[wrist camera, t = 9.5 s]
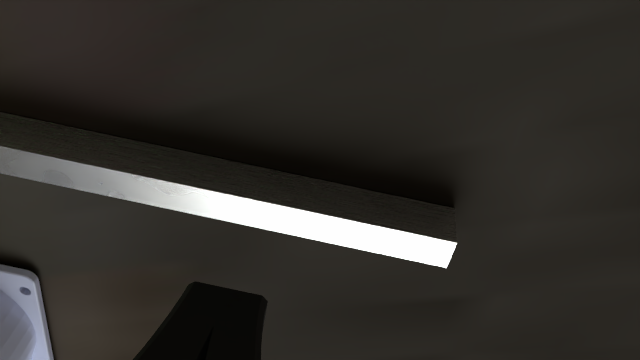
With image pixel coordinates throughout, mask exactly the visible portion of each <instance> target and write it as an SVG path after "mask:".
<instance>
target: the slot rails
mask: <svg viewBox="0 0 640 360" xmlns="http://www.w3.org/2000/svg"><path fill="white" fill-rule="evenodd" d="M0 173H2V174H7V175H11V176H16V177H21V178H26V179H30V180H35V181H40V182H44V183H49V184H54V185H59V186H63V187H68V188H73V189H77V190H82V191H87V192H92V193H96V194H101V195H106V196H110V197H115V198H120V199H125V200H129V201H134V202H139V203H143V204H148V205H153V206H158V207H162V208H167V209H172V210H176V211H181V212H186V213H190V214H195V215H200V216H205V217H209V218H214V219H219V220H223V221H228V222H233V223H238V224H242V225H247V226H252V227H256V228H261V229H266V230H271V231H275V232H280V233H285V234H289V235H294V236H299V237H304V238H308V239H313V240H318V241H322V242H327V243H332V244H337V245H341V246H346V247H351V248H355V249H360V250H365V251H370V252H374V253H379V254H384V255H388V256H393V257H398V258H403V259H407V260H412V261H417V262H421V263H426V264H431V265H436V266H440V267H445V268H447V265H448V263H449V261H450V258H451V256H452V254H453V251H454V249H455V247H456V244H457V236H456V222H455V209H454V208H451V207H446V206H442V205H437V204H432V203H428V202H423V201H418V200H413V199H409V198H404V197H399V196H395V195H390V194H385V193H380V192H376V191H371V190H366V189H362V188H357V187H352V186H347V185H343V184H338V183H333V182H329V181H324V180H319V179H314V178H310V177H305V176H300V175H296V174H291V173H286V172H281V171H277V170H272V169H267V168H263V167H258V166H253V165H248V164H244V163H239V162H234V161H230V160H225V159H220V158H215V157H211V156H206V155H201V154H197V153H192V152H187V151H182V150H178V149H173V148H168V147H164V146H159V145H154V144H149V143H145V142H140V141H135V140H131V139H126V138H121V137H116V136H112V135H107V134H102V133H98V132H93V131H88V130H83V129H79V128H74V127H69V126H65V125H60V124H55V123H50V122H46V121H41V120H36V119H32V118H27V117H22V116H17V115H13V114H8V113H3V112H0Z"/></svg>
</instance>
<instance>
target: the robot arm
mask: <svg viewBox="0 0 640 360" xmlns="http://www.w3.org/2000/svg"><path fill="white" fill-rule="evenodd" d="M267 302H268V301H267V300H266V299H265V298H264V297H263V296H261V295H257V294H252V293H247V292H242V291H238V290H233V289H228V288H224V287H219V286H214V285H209V284H205V283H200V282H193V283H191V284H189V285H188V286H187V288H186V290H185V291H184V293H183V294H182V296H181V297H180V299H179V300H178V302H177V303H176V305H175V306H174V308H173V309H172V310H171V312H170V313H169V315H168V316H167V317H166V319H165V320H164V321H163V323H162V324H161V325H160V327H159V328H158V329H157V331H156V332H155V333H154V334H153V336H152V337H151V338H150V340H149V341H148V342H147V343H146V345H145V346H144V347H143V348H142V350H141V351H140V352H139V353H138V354H137V355H136V357H135V358H134V359H133V360H261V341H262V331H263V326H264V320H265V314H266V308H267ZM0 360H54V358H53V353H52V348H51V342H50V337H49V332H48V326H47V321H46V316H45V310H44V305H43V300H42V295H41V289H40V284H39V279H38V277H37V276H36V275H35V274H34V273H33V272H31V271H29V270H25V269H20V268H16V267H11V266H6V265H2V264H0Z"/></svg>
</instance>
